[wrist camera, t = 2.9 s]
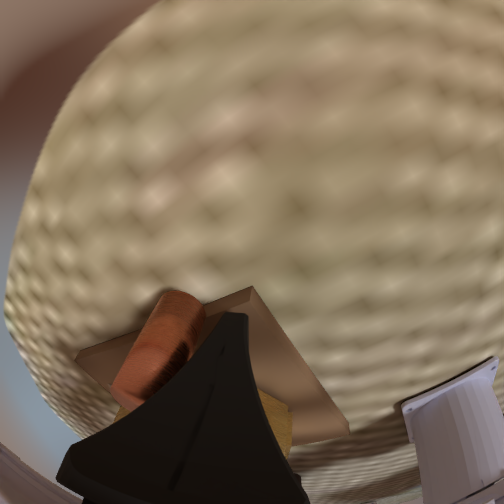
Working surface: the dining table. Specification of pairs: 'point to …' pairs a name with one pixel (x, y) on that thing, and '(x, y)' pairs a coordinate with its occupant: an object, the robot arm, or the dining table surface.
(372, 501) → the energy drink
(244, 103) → the dining table surface
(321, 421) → the square socket base
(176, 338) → the golden gear lever
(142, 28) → the dining table surface
